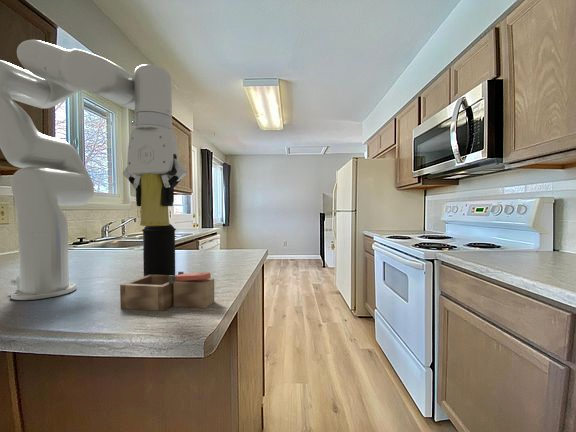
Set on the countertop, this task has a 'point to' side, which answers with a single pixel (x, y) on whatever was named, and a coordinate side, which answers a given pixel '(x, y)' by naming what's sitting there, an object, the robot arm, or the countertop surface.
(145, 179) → the vase
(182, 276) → the keeper bar
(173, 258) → the aerosol can
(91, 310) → the countertop surface
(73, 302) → the countertop surface
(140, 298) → the block
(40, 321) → the countertop surface
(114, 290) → the countertop surface
